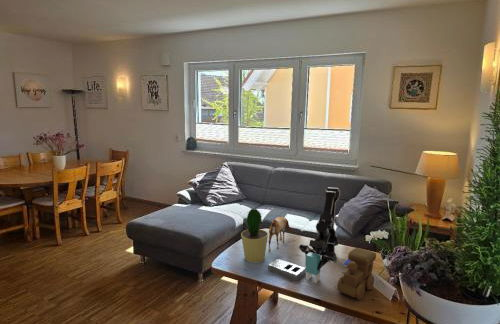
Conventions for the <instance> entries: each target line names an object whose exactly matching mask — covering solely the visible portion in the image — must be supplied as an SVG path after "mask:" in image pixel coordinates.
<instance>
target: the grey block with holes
mask: <svg viewBox="0 0 500 324" xmlns="http://www.w3.org/2000/svg"><path fill="white" fill-rule="evenodd" d="M267 270H268V271H269V272H272V273H275V274H278V275H280V276H283V277H286V278H289V279H292V280H294V281H299V280H300V279H301V278H302V277H303V276H304V275H306V267H304V266H301V265H298V264H295V263H293V262H289V261H286V260H284V259H280V258H276V259H275V260H273V261H272V262H270V263H269V264H268V265H267Z"/></svg>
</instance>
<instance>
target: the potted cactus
mask: <svg viewBox="0 0 500 324" xmlns="http://www.w3.org/2000/svg"><path fill="white" fill-rule="evenodd" d="M262 218H263V217H262V213H261V211H260V210H258V208H251V209H250V210H249V211H247V214H246V226H247V229H246V230H243V231H242V232H241V233H240V236H241V243H242V248H243V252H244V255H243V256H244V259H245V261H246V262H248V263H260V262H263V261H264V260H265V258H266V250H267V244H268V239H269V232H268V231H267V230H265V229H261V224H262Z"/></svg>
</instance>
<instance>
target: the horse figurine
mask: <svg viewBox="0 0 500 324" xmlns="http://www.w3.org/2000/svg"><path fill="white" fill-rule="evenodd" d="M270 224H271V225H270V226H269V229H268V252H269V253H271V252H272V249H271V242H272V238H273V236H274V235H275V238H276V239H275V240H276V250H279V249H280V248H279V240H280V241H281V240H282V243H283V244H285V242H286V240H285V233H286V232H285V230H287V231H288V233H292V232H293V228H291V227H290V224H289V221H288V219H287V218H286V217H284V216H283V217H282V216H277V217H276V218H274V219H273V220H272V221H271V223H270Z"/></svg>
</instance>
